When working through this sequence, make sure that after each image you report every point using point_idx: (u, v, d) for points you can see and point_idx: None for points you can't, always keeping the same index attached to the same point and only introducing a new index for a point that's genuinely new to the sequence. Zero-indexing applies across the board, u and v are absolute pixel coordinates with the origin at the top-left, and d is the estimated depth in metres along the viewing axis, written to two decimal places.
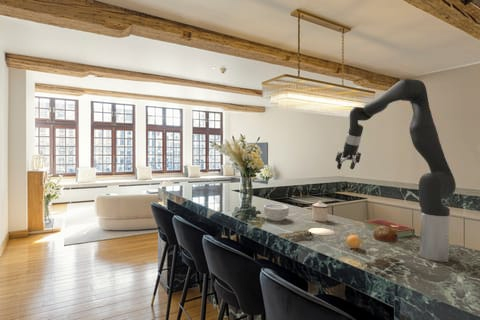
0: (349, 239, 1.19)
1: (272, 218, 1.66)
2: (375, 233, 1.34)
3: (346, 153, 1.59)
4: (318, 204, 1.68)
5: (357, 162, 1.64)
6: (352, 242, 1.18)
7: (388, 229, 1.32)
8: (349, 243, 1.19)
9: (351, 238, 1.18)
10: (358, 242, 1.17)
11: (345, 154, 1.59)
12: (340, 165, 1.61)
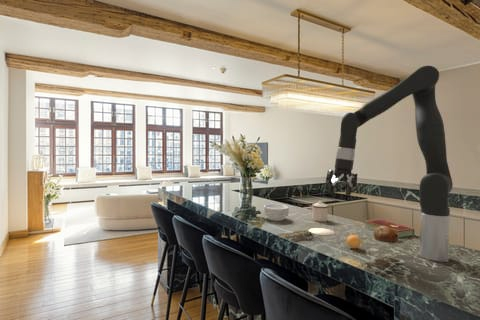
0: (349, 239, 1.19)
1: (272, 218, 1.66)
2: (375, 233, 1.34)
3: (338, 172, 1.23)
4: (318, 204, 1.68)
5: (354, 186, 1.26)
6: (352, 242, 1.18)
7: (388, 229, 1.32)
8: (349, 243, 1.19)
9: (351, 238, 1.18)
10: (358, 242, 1.17)
11: (337, 173, 1.23)
12: (332, 188, 1.23)
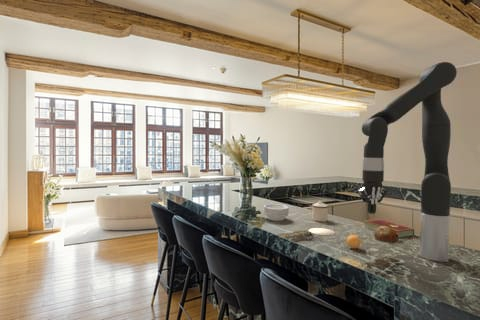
0: (349, 239, 1.19)
1: (272, 218, 1.66)
2: (376, 233, 1.34)
3: (368, 185, 1.08)
4: (318, 204, 1.68)
5: (378, 201, 1.10)
6: (352, 242, 1.18)
7: (389, 229, 1.32)
8: (349, 243, 1.19)
9: (351, 238, 1.18)
10: (358, 242, 1.17)
11: (368, 187, 1.08)
12: (372, 207, 1.09)
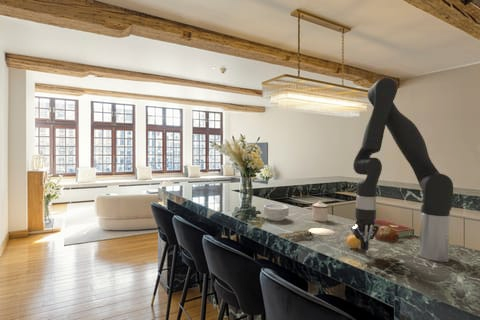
0: (349, 239, 1.19)
1: (272, 218, 1.66)
2: (376, 233, 1.34)
3: (361, 223, 1.11)
4: (318, 204, 1.68)
5: (370, 238, 1.13)
6: (352, 242, 1.18)
7: (389, 229, 1.32)
8: (349, 243, 1.19)
9: (351, 238, 1.18)
10: (358, 242, 1.17)
11: (361, 225, 1.11)
12: (365, 244, 1.12)
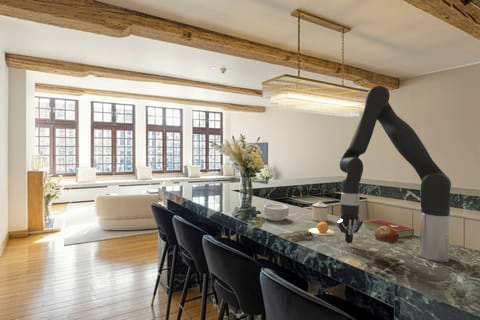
0: (317, 228, 1.43)
1: (272, 218, 1.66)
2: (377, 233, 1.33)
3: (345, 218, 1.20)
4: (318, 204, 1.68)
5: (354, 231, 1.22)
6: None
7: (390, 229, 1.32)
8: (318, 226, 1.42)
9: None
10: None
11: (345, 219, 1.21)
12: (349, 237, 1.21)
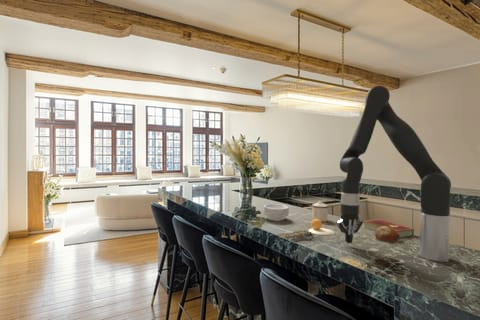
0: (313, 226, 1.47)
1: (272, 218, 1.66)
2: (377, 233, 1.33)
3: (345, 218, 1.20)
4: (318, 204, 1.68)
5: (354, 231, 1.22)
6: (312, 227, 1.49)
7: (390, 229, 1.32)
8: (311, 224, 1.49)
9: (314, 228, 1.47)
10: None
11: (345, 219, 1.21)
12: (349, 237, 1.21)
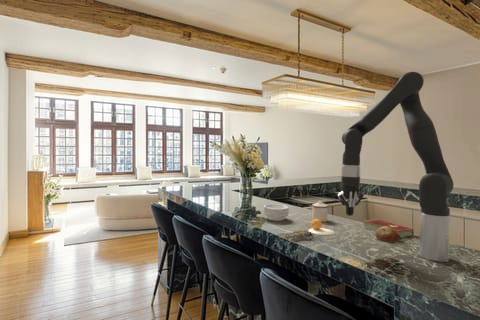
0: (313, 226, 1.47)
1: (272, 218, 1.66)
2: (378, 233, 1.33)
3: (346, 190, 1.20)
4: (318, 204, 1.68)
5: (355, 204, 1.22)
6: (312, 227, 1.49)
7: (391, 229, 1.31)
8: (311, 224, 1.49)
9: (314, 228, 1.47)
10: None
11: (346, 191, 1.20)
12: (350, 209, 1.21)
